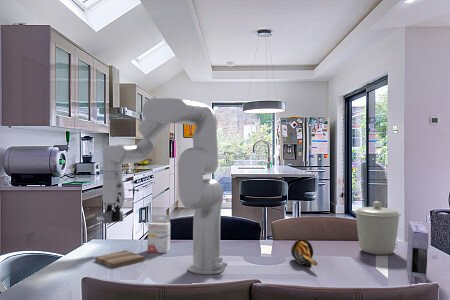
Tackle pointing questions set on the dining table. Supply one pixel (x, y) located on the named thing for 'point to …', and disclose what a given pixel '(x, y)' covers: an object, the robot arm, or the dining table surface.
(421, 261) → the cake pan box
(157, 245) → the ink cartridge box
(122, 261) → the walnut board
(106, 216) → the grey double dome block
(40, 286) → the dining table surface
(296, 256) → the fried shrimp in bowl
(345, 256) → the dining table surface
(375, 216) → the canister
